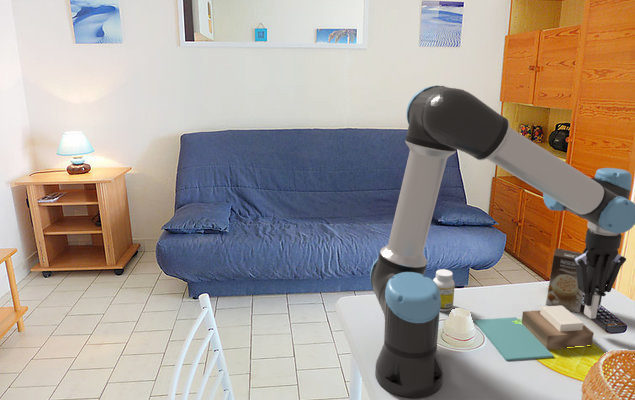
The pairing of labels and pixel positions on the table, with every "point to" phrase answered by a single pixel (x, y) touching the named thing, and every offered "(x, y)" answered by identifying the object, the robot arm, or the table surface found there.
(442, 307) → the pill bottle
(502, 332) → the mat
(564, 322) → the cream flat block
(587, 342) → the wooden block
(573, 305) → the coffee box
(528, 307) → the table surface
